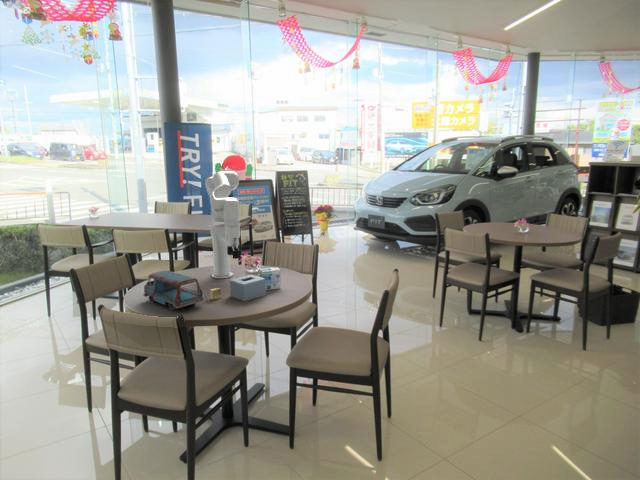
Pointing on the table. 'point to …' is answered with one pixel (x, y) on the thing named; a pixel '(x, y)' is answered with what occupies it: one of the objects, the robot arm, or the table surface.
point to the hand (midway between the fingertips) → (233, 256)
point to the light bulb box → (271, 277)
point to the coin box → (247, 287)
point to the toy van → (172, 290)
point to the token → (215, 293)
